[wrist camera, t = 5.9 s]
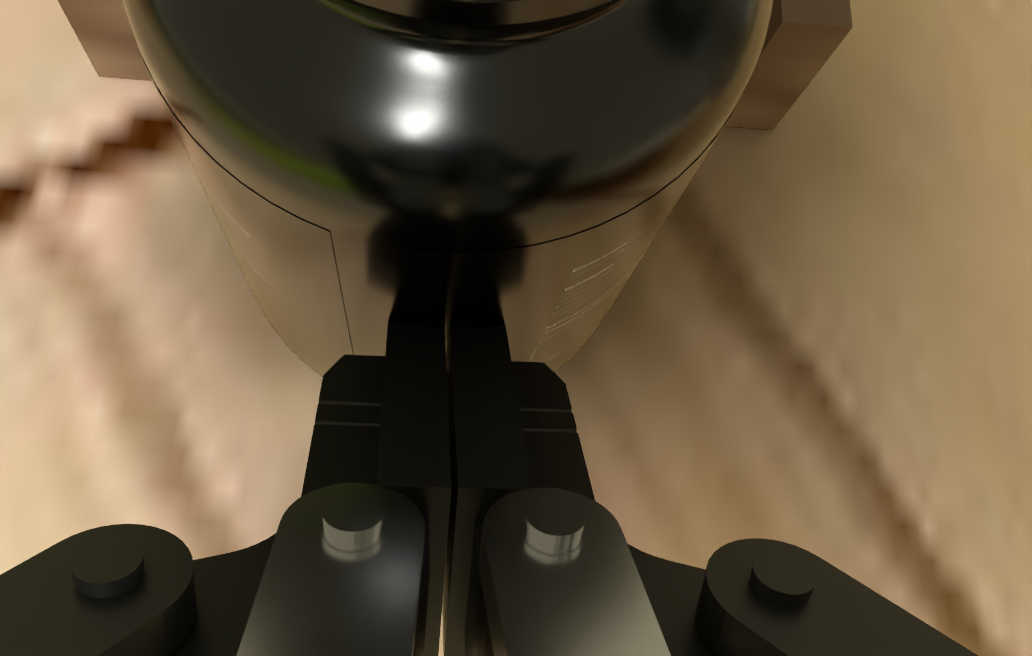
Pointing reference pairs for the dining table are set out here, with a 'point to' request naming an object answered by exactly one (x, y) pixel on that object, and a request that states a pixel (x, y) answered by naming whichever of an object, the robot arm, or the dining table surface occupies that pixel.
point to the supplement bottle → (445, 152)
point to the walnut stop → (767, 97)
